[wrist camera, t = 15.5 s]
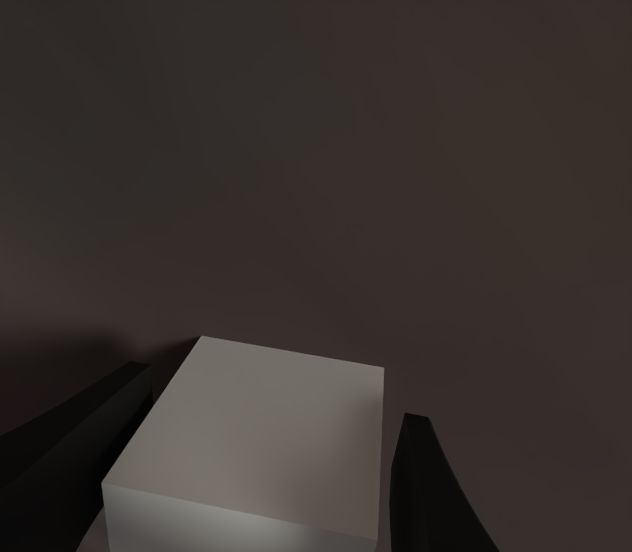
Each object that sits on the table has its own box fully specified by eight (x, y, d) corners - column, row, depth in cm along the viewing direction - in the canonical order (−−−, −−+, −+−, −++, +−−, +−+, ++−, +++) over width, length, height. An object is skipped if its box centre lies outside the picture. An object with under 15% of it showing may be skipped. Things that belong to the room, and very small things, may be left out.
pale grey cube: (357, 498, 18) (340, 691, 13) (201, 467, 18) (121, 639, 13) (383, 367, 15) (377, 540, 10) (201, 335, 16) (101, 482, 10)
